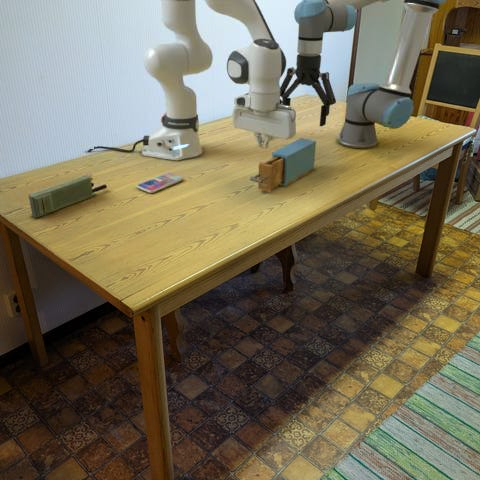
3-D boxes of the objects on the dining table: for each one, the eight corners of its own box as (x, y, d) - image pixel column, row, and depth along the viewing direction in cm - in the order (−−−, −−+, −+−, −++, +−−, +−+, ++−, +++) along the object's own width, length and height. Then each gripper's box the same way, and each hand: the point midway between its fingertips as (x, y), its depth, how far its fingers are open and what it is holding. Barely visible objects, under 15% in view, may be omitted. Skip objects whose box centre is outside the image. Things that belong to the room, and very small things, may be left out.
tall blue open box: (285, 186, 164) (287, 156, 159) (270, 182, 167) (271, 152, 162) (313, 169, 177) (316, 141, 172) (299, 165, 180) (301, 137, 175)
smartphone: (184, 177, 167) (150, 191, 157) (184, 180, 167) (151, 194, 157) (168, 171, 171) (134, 185, 161) (168, 174, 171) (135, 188, 161)
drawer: (261, 197, 154) (262, 171, 150) (248, 193, 157) (249, 168, 152) (298, 174, 170) (300, 150, 166) (287, 171, 173) (288, 147, 169)
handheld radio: (30, 215, 144) (102, 188, 161) (37, 219, 142) (109, 191, 159) (26, 193, 140) (100, 168, 157) (33, 197, 138) (107, 171, 155)
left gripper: (301, 104, 141) (298, 152, 148) (242, 93, 151) (241, 138, 158) (290, 109, 136) (287, 158, 143) (229, 97, 147) (229, 143, 153)
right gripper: (351, 56, 153) (343, 125, 163) (281, 48, 166) (278, 112, 176) (340, 60, 148) (333, 131, 158) (268, 51, 160) (266, 117, 171)
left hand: (262, 147), depth 151 cm, fingers closed
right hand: (304, 121), depth 167 cm, fingers open, 13 cm apart
